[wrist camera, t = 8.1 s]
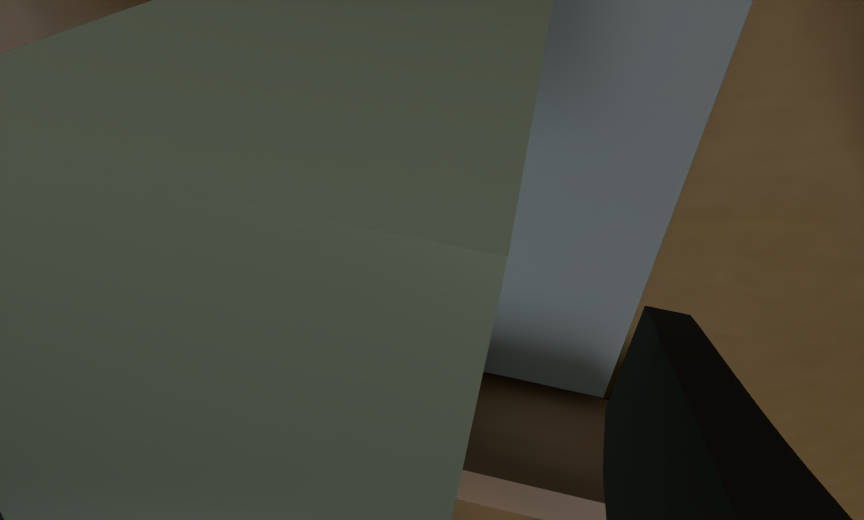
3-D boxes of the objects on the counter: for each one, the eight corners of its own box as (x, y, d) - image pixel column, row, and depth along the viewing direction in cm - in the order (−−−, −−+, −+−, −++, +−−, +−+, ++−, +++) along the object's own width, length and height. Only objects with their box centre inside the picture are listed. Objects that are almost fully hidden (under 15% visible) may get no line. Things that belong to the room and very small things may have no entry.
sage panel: (476, 367, 15) (374, 880, 7) (355, 340, 15) (139, 807, 8) (562, -51, 10) (508, 257, 2) (376, -79, 10) (-185, 119, 3)
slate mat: (602, 382, 15) (603, 397, 15) (247, 305, 16) (238, 317, 15) (751, -20, 10) (758, -15, 10) (217, -100, 11) (203, -98, 10)
